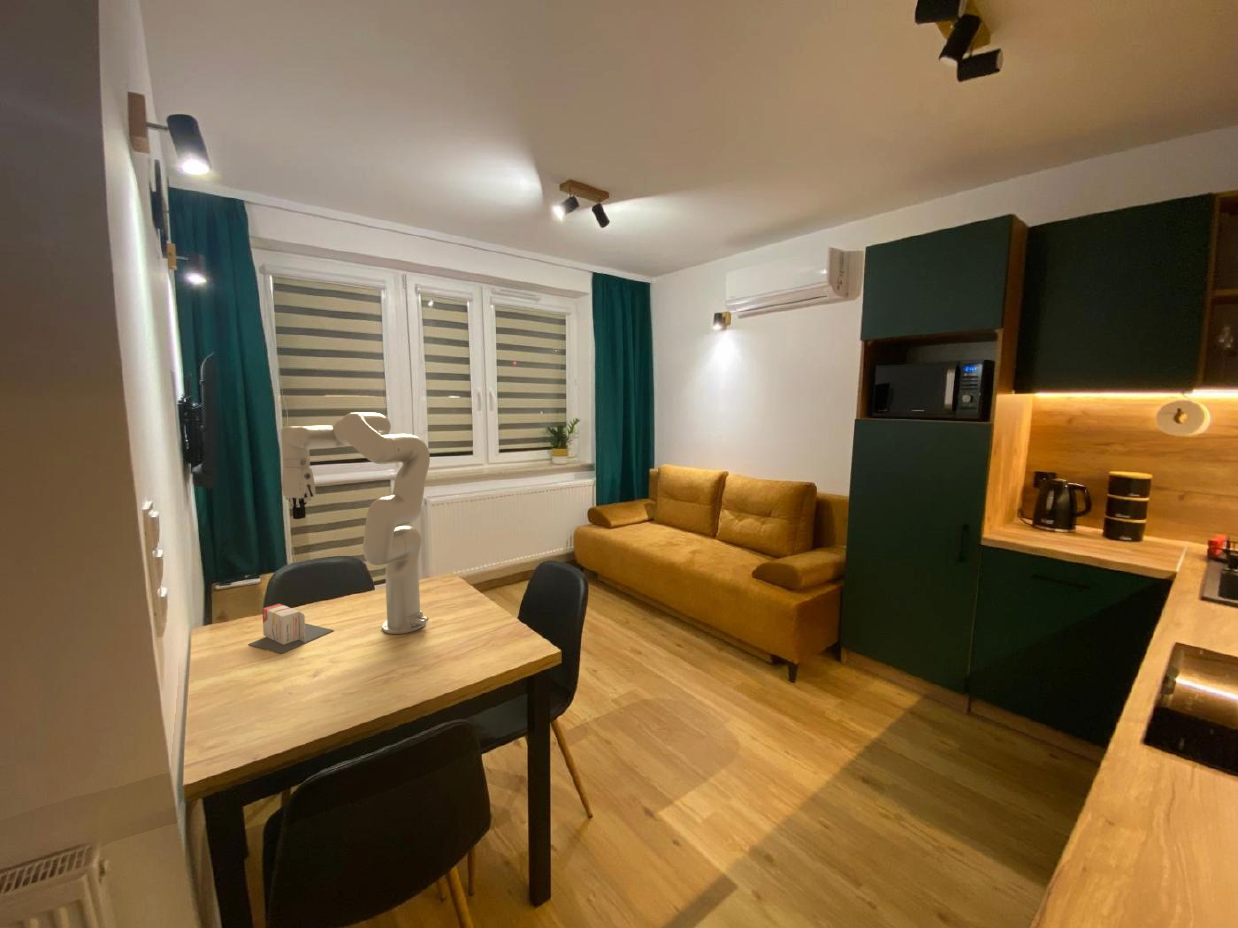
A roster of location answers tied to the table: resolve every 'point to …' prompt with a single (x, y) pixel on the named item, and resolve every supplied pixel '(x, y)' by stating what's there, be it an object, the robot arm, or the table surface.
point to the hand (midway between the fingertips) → (299, 518)
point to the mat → (310, 634)
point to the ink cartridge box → (283, 624)
